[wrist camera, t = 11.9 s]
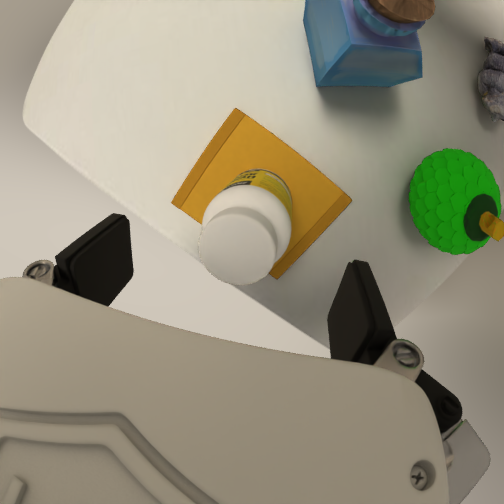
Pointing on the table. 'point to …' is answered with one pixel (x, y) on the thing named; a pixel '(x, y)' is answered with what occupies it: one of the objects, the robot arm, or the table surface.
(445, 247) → the ornament
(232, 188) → the supplement bottle
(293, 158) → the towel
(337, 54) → the perfume bottle
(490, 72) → the seashell
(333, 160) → the table surface
